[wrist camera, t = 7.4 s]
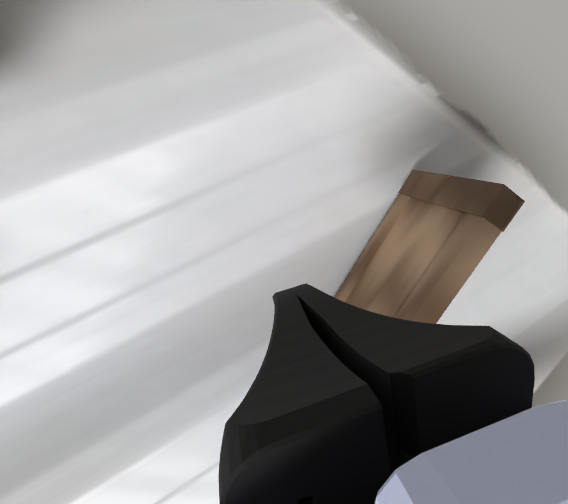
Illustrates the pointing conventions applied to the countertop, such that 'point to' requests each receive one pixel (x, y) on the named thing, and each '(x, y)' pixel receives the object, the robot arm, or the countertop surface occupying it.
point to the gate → (428, 245)
